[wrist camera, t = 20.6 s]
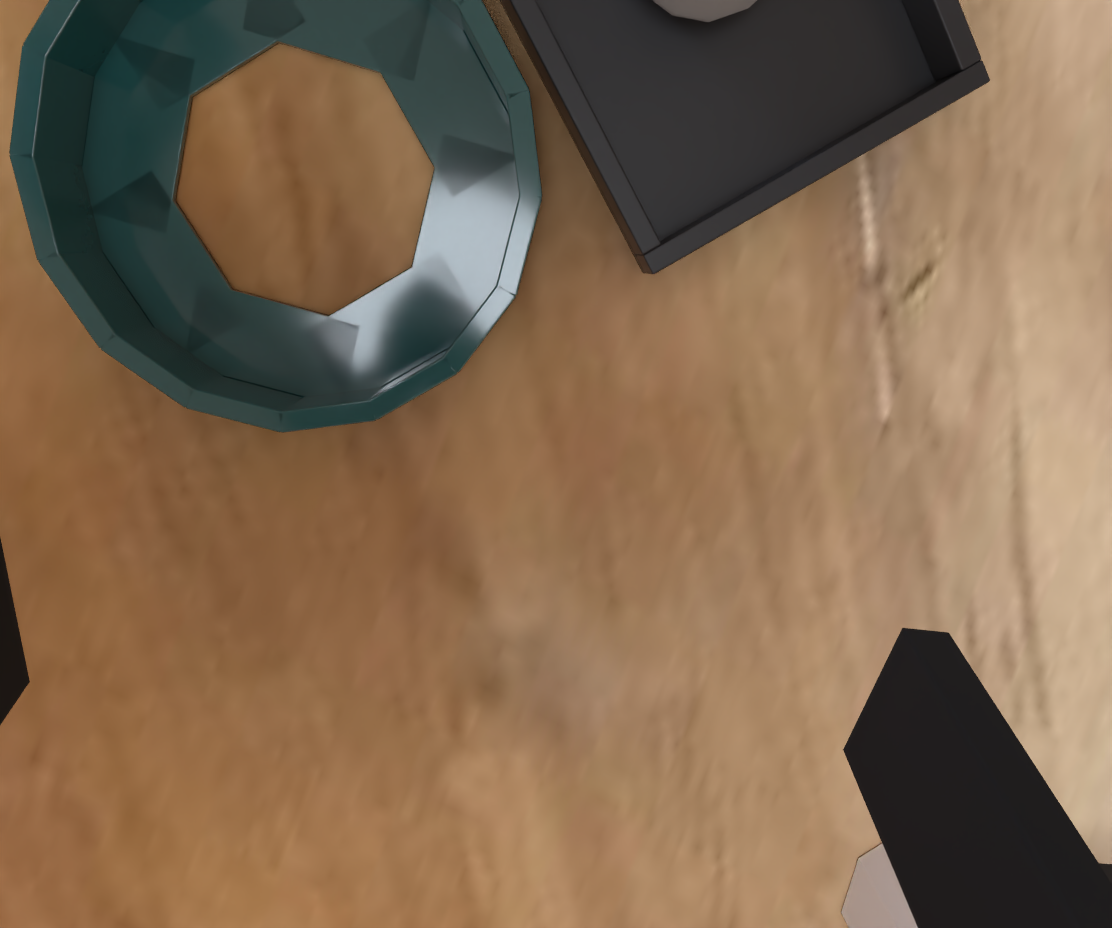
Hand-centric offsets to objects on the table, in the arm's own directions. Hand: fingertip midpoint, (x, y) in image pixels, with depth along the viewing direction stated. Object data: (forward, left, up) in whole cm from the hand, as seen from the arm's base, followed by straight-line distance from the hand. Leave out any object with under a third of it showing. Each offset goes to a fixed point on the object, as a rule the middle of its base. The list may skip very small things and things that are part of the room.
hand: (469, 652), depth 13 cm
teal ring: (-11, -2, -22) cm, 25 cm away
